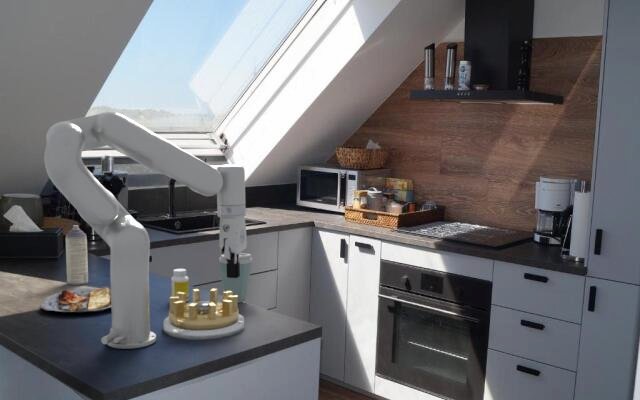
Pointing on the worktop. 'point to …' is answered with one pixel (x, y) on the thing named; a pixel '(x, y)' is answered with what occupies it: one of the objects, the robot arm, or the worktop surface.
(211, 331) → the light grey round disc
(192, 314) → the bladed impeller wheel
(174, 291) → the supplement bottle
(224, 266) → the disposable coffee cup
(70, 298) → the food plate
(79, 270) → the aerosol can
